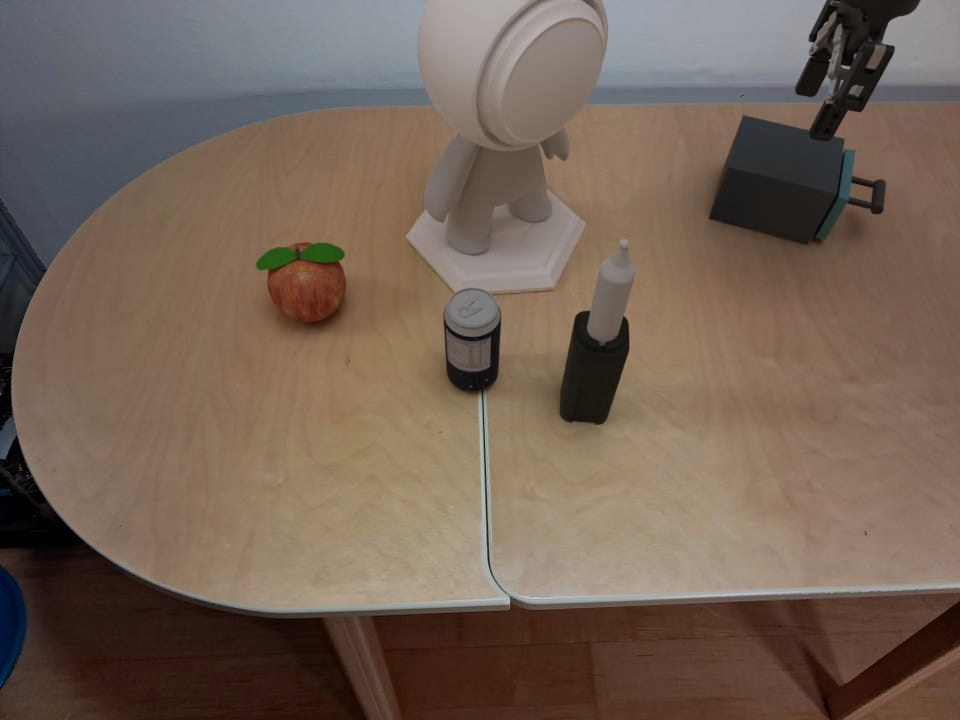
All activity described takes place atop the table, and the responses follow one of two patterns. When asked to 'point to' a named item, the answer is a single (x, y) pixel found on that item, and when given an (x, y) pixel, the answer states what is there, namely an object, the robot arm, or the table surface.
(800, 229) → the dark grey drawer cabinet
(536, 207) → the white toy figurine
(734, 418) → the table surface
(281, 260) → the fruit
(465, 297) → the beverage can
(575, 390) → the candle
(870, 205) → the drawer
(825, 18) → the robot arm
